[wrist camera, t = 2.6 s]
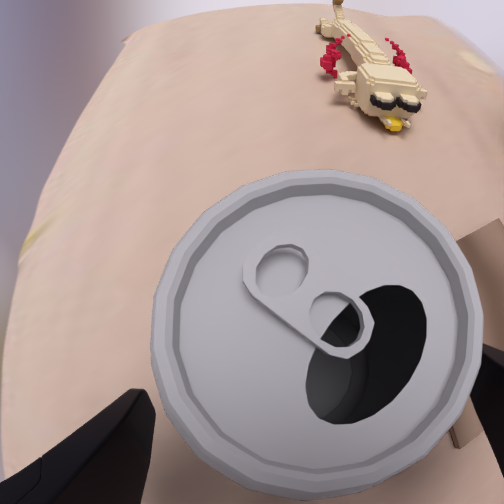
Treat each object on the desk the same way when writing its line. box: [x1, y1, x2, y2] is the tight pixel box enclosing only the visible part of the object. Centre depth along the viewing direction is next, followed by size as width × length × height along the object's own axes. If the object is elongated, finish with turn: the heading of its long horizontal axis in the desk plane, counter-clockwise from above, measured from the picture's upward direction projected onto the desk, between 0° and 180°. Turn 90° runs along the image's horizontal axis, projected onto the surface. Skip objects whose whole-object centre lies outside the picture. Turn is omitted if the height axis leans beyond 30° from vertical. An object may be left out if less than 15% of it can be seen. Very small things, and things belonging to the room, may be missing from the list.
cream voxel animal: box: [316, 0, 427, 132], centre depth 25 cm, size 10×9×25 cm
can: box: [150, 169, 484, 501], centre depth 10 cm, size 8×8×12 cm
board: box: [449, 218, 504, 449], centre depth 15 cm, size 12×12×1 cm
